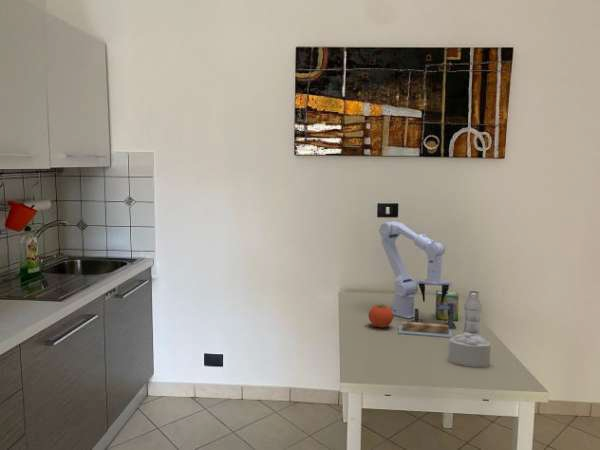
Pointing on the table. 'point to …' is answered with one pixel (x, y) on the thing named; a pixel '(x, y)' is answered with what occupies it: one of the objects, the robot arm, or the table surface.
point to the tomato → (380, 315)
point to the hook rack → (449, 323)
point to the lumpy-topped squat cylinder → (469, 350)
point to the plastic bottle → (472, 314)
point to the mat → (424, 333)
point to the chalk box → (446, 305)
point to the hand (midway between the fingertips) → (432, 301)
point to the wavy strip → (425, 327)
